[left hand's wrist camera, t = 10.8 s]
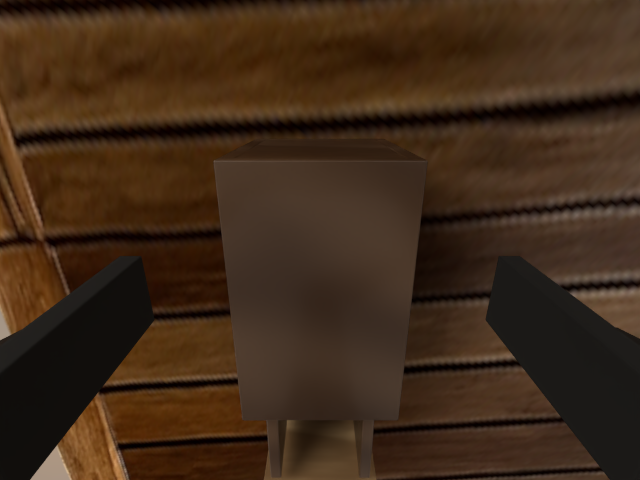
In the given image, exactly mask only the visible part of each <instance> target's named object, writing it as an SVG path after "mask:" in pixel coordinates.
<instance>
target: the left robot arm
mask: <svg viewBox="0 0 640 480" xmlns="http://www.w3.org/2000/svg"><path fill="white" fill-rule="evenodd" d="M153 321H154V315H153V311H152V306H151V301H150V296H149V292H148V287H147V282H146V277H145V272H144V268H143V263H142V258H141V256H120V257H119V258H117V259H116V260H115V261H113V262H112V263H111V264H109V265H108V266H107V267H105V268H104V269H103V270H101V271H100V272H99V273H97V274H96V275H94V276H93V277H92V278H90V279H89V280H88V281H86V282H85V283H84V284H82V285H81V286H80V287H78V288H77V289H76V290H74V291H73V292H72V293H70V294H69V295H68V296H66V297H65V298H64V299H62V300H61V301H60V302H58V303H57V304H56V305H54V306H53V307H52V308H50V309H49V310H48V311H46V312H45V313H44V314H42V315H41V316H40V317H38V318H37V319H36V320H34V321H33V322H32V323H30V324H29V325H28V326H26V327H25V328H23V329H22V330H20V331H18V332H16V333H14V334H12V335H10V336H8V337H6V338H4V339H2V340H0V480H30V479H31V478H32V476H33V475H34V474H35V473H36V471H37V470H38V469H39V467H40V466H41V465H42V464H43V462H44V461H45V460H46V458H47V457H48V456H49V455H50V453H51V452H52V451H53V450H54V448H55V447H56V446H57V444H58V443H59V442H60V441H61V439H62V438H63V437H64V435H65V434H66V433H67V432H68V430H69V429H70V428H71V426H72V425H73V424H74V423H75V421H76V420H77V419H78V417H79V416H80V415H81V414H82V412H83V411H84V410H85V408H86V407H87V406H88V405H89V403H90V402H91V401H92V399H93V398H94V397H95V396H96V394H97V393H98V392H99V390H100V389H101V388H102V387H103V385H104V384H105V383H106V381H107V380H108V379H109V378H110V376H111V375H112V374H113V372H114V371H115V370H116V369H117V367H118V366H119V365H120V363H121V362H122V361H123V360H124V358H125V357H126V356H127V354H128V353H129V352H130V351H131V349H132V348H133V347H134V345H135V344H136V343H137V342H138V340H139V339H140V338H141V336H142V335H143V334H144V333H145V331H146V330H147V329H148V327H149V326H150V325H151V324H152V322H153ZM486 321H487V322H488V324H489V325H490V326H491V327H492V329H493V330H494V331H495V333H496V334H497V335H498V336H499V338H500V339H501V340H502V342H503V343H504V344H505V345H506V347H507V348H508V349H509V351H510V352H511V353H512V354H513V356H514V357H515V358H516V360H517V361H518V362H519V363H520V365H521V366H522V367H523V369H524V370H525V371H526V372H527V374H528V375H529V376H530V378H531V379H532V380H533V381H534V383H535V384H536V385H537V387H538V388H539V389H540V390H541V392H542V393H543V394H544V396H545V397H546V398H547V399H548V401H549V402H550V403H551V405H552V406H553V407H554V408H555V410H556V411H557V412H558V414H559V415H560V416H561V417H562V419H563V420H564V421H565V423H566V424H567V425H568V426H569V428H570V429H571V430H572V432H573V433H574V434H575V435H576V437H577V438H578V439H579V441H580V442H581V443H582V444H583V446H584V447H585V448H586V450H587V451H588V452H589V453H590V455H591V456H592V457H593V459H594V460H595V461H596V462H597V464H598V465H599V466H600V468H601V469H602V470H603V471H604V473H605V474H606V475H607V476H608V478H609V479H610V480H640V339H639V338H637V337H635V336H633V335H631V334H629V333H627V332H625V331H623V330H621V329H619V328H615V327H614V326H612V325H611V324H610V323H608V322H607V321H606V320H604V319H603V318H602V317H600V316H599V315H598V314H596V313H595V312H594V311H592V310H591V309H590V308H588V307H587V306H586V305H584V304H583V303H582V302H580V301H579V300H578V299H576V298H575V297H574V296H572V295H571V294H570V293H568V292H567V291H566V290H564V289H563V288H562V287H560V286H559V285H558V284H556V283H555V282H554V281H552V280H551V279H550V278H548V277H547V276H546V275H544V274H543V273H541V272H540V271H539V270H537V269H536V268H535V267H533V266H532V265H531V264H529V263H528V262H527V261H525V260H524V259H523V258H521V257H520V256H499V258H498V263H497V268H496V272H495V277H494V282H493V287H492V292H491V296H490V301H489V306H488V311H487V315H486Z"/></svg>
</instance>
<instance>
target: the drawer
mask: <svg viewBox="0 0 640 480" xmlns="http://www.w3.org/2000/svg"><path fill="white" fill-rule="evenodd" d="M373 429H374V420H267V433H268V446H269V450H268V457H267V464H266V470H265V477H264V480H376V474H375V467H374V460H373V454H372V441H373Z"/></svg>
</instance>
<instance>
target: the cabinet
mask: <svg viewBox="0 0 640 480" xmlns="http://www.w3.org/2000/svg"><path fill="white" fill-rule="evenodd" d="M214 170H215V179H216V188H217V196H218V205H219V214H220V223H221V232H222V241H223V250H224V259H225V268H226V276H227V285H228V294H229V303H230V312H231V321H232V330H233V339H234V348H235V357H236V365H237V374H238V383H239V392H240V401H241V410H242V419H243V420H398V416H399V407H400V398H401V390H402V381H403V372H404V363H405V354H406V346H407V337H408V328H409V319H410V310H411V302H412V293H413V284H414V275H415V266H416V258H417V249H418V240H419V231H420V222H421V214H422V205H423V196H424V187H425V179H426V170H427V160H425V159H423V158H421V157H419V156H417V155H415V154H413V153H411V152H409V151H407V150H405V149H403V148H401V147H399V146H397V145H395V144H393V143H391V142H389V141H387V140H385V139H256V140H254V141H252V142H250V143H248V144H246V145H244V146H242V147H240V148H238V149H236V150H234V151H232V152H230V153H228V154H226V155H224V156H222V157H220V158H218V159H216V160H214Z"/></svg>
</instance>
